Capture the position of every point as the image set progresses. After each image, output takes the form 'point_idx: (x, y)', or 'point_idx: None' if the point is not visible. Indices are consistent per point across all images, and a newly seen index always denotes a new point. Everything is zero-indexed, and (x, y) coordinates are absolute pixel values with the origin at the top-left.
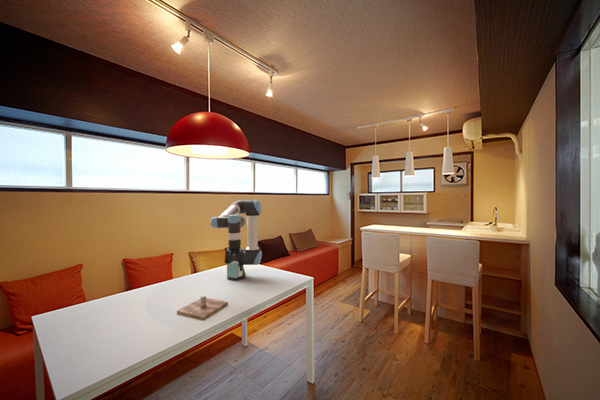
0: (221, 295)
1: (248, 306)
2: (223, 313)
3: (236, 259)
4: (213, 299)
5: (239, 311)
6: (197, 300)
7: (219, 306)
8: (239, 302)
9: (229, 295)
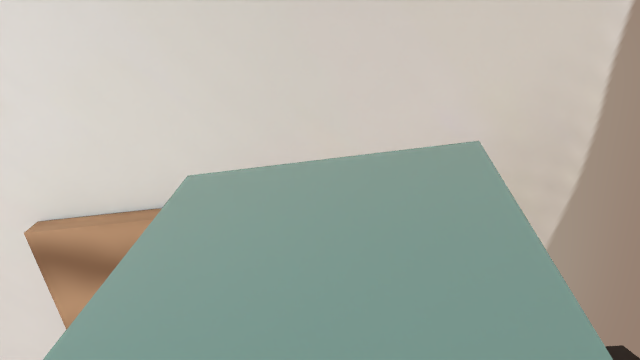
0: (80, 58)
1: (565, 120)
2: None
3: None
4: None
5: (539, 235)
6: (60, 299)
7: None
8: (406, 94)
9: (154, 9)
